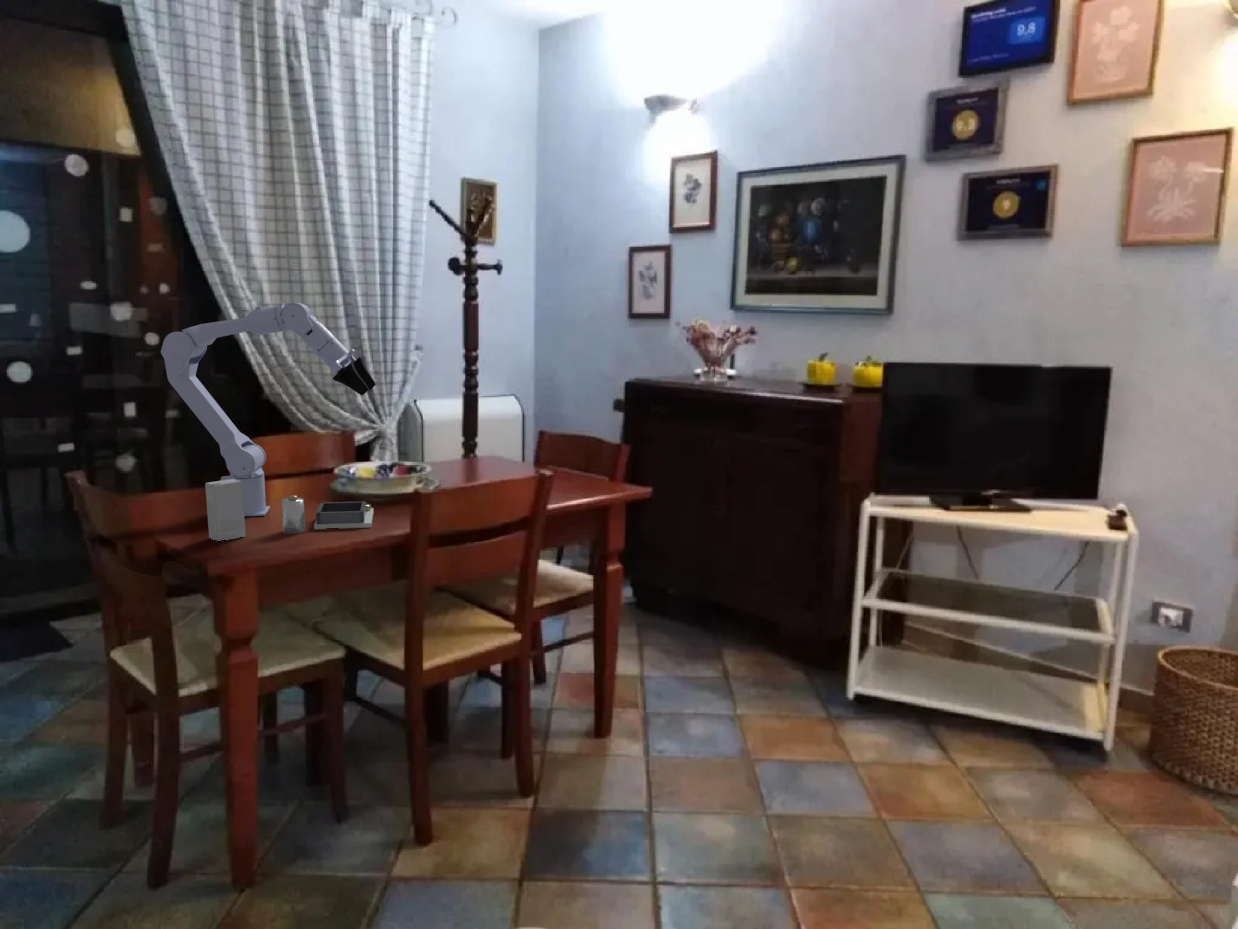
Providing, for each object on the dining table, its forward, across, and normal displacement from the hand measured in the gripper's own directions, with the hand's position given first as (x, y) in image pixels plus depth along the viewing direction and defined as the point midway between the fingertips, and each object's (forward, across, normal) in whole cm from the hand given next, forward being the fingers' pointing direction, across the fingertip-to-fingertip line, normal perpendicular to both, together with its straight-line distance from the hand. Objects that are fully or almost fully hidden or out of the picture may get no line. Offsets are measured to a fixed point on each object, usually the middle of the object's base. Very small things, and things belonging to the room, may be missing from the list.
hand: (369, 390), depth 199 cm
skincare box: (+3, -25, +37) cm, 45 cm away
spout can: (+12, -19, +29) cm, 36 cm away
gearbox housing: (+18, -9, +23) cm, 30 cm away
